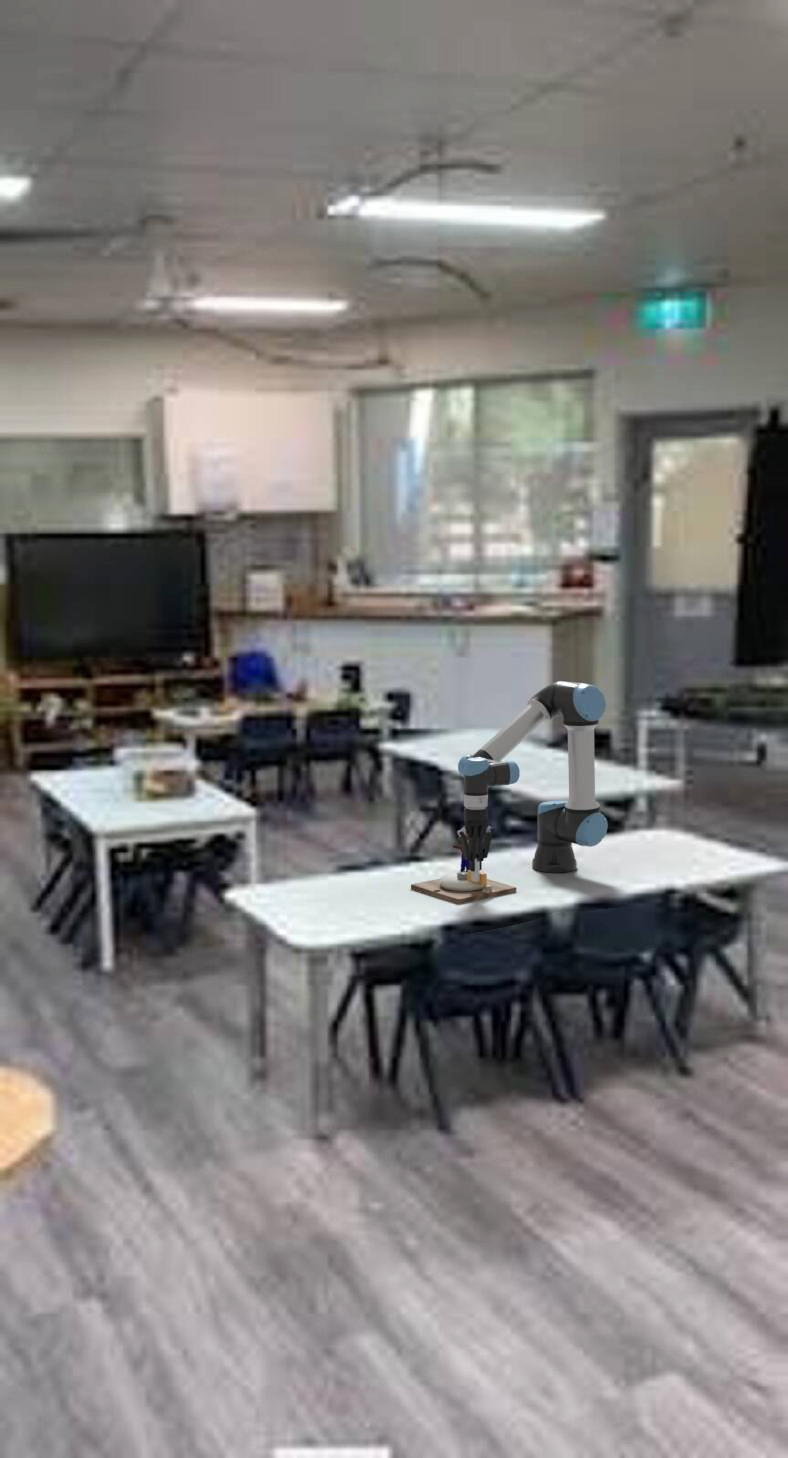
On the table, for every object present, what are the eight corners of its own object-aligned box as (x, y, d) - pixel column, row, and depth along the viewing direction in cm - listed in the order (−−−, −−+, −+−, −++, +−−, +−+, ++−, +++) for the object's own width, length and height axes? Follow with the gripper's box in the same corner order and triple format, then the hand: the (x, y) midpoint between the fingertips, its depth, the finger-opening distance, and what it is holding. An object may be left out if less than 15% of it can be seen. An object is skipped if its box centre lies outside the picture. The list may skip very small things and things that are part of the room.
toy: (447, 871, 487) (447, 828, 485) (454, 868, 492) (454, 825, 490) (477, 875, 482) (477, 831, 480) (483, 871, 487) (483, 828, 485)
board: (467, 877, 479) (467, 867, 478) (516, 891, 460) (516, 881, 459) (410, 888, 464) (410, 878, 464) (458, 904, 446) (458, 893, 445)
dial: (430, 884, 463) (430, 867, 462) (465, 877, 472) (465, 860, 472) (466, 894, 450) (466, 877, 449) (501, 887, 459) (501, 870, 458)
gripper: (464, 811, 445) (463, 885, 448) (499, 807, 451) (499, 881, 454) (451, 807, 451) (451, 880, 455) (487, 803, 457) (486, 876, 461)
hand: (475, 880), depth 454 cm, fingers closed
